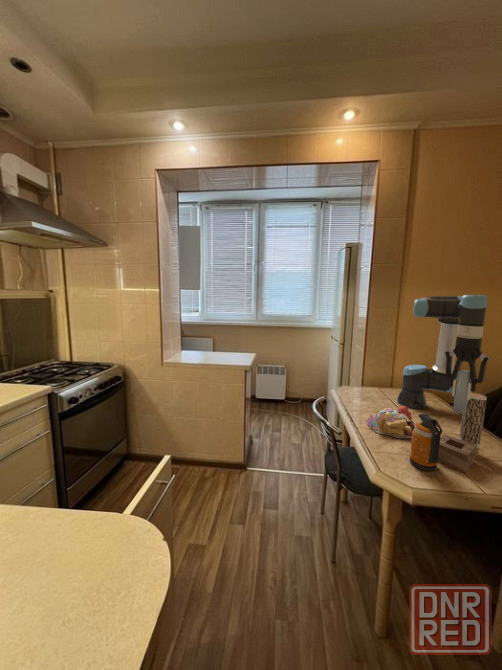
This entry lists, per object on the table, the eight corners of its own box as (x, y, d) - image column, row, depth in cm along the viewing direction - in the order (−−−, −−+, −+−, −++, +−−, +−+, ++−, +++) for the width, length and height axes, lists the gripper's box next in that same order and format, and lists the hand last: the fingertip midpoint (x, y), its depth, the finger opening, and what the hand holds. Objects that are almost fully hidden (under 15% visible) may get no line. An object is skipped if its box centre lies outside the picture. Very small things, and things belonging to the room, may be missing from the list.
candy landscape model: (428, 443, 124) (430, 423, 123) (371, 437, 129) (373, 418, 128) (409, 418, 148) (411, 402, 147) (362, 414, 153) (363, 398, 152)
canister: (426, 457, 113) (431, 410, 110) (446, 475, 102) (452, 424, 99) (404, 458, 112) (409, 411, 109) (422, 476, 102) (428, 424, 98)
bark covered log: (458, 446, 121) (465, 391, 117) (478, 452, 117) (486, 395, 113) (457, 453, 116) (464, 395, 112) (478, 459, 112) (486, 400, 108)
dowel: (455, 408, 111) (460, 369, 108) (467, 411, 108) (472, 371, 105) (451, 411, 108) (456, 370, 106) (464, 414, 105) (469, 373, 103)
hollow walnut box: (442, 449, 119) (444, 433, 118) (474, 461, 110) (476, 445, 109) (432, 458, 112) (434, 442, 111) (465, 472, 104) (467, 455, 103)
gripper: (439, 334, 108) (432, 393, 111) (496, 341, 95) (486, 406, 98) (446, 333, 112) (439, 389, 116) (501, 339, 99) (492, 401, 103)
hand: (461, 397), depth 107 cm, fingers closed on dowel, 4 cm apart
